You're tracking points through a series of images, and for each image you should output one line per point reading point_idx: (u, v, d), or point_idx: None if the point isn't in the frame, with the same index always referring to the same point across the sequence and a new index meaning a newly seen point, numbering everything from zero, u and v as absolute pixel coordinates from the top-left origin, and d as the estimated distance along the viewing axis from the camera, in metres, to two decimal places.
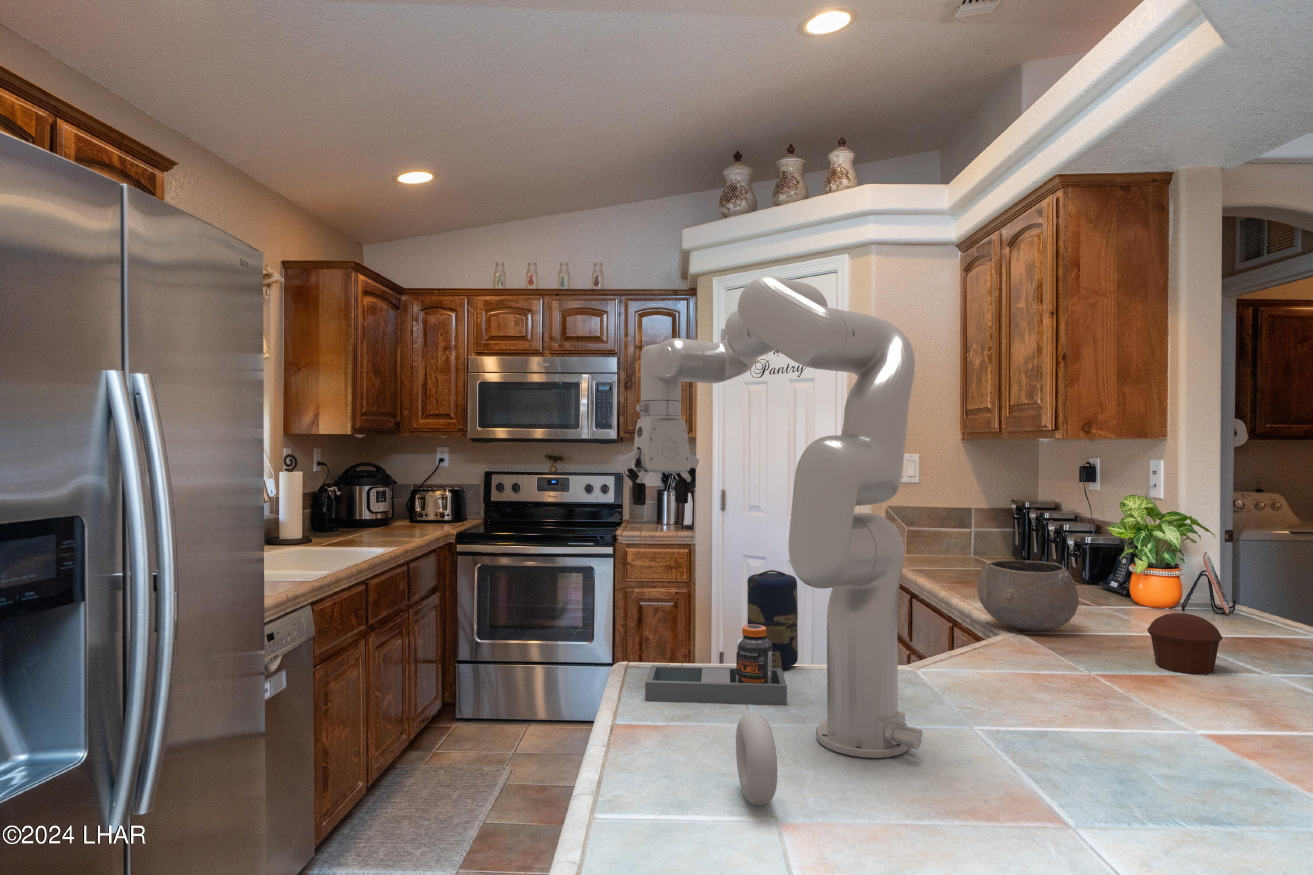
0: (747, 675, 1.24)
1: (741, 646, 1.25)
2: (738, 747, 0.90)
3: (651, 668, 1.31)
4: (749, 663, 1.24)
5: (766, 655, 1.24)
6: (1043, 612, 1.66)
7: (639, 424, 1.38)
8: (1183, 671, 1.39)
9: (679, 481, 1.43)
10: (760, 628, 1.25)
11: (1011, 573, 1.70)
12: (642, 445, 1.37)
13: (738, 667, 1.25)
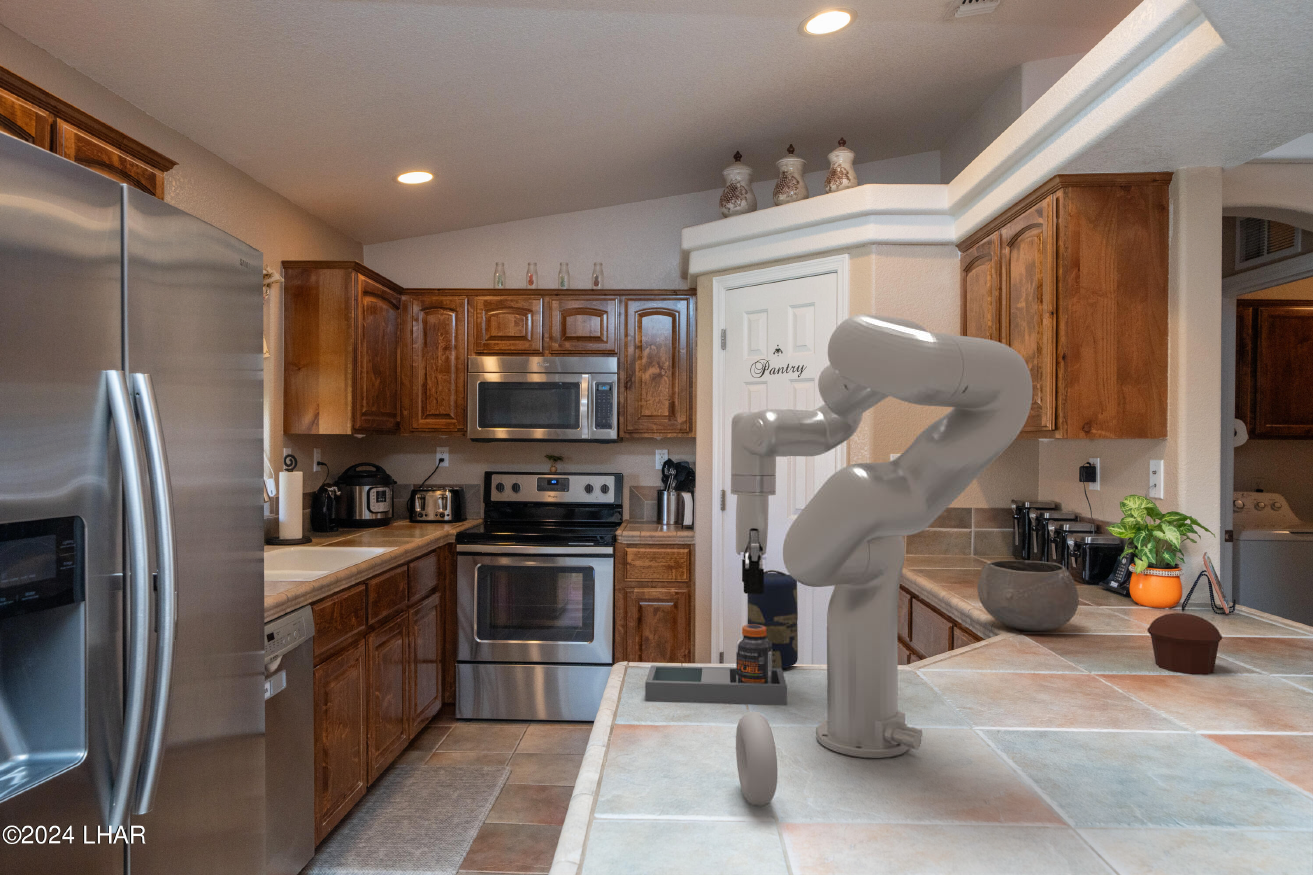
0: (747, 675, 1.24)
1: (741, 646, 1.25)
2: (738, 747, 0.90)
3: (651, 668, 1.31)
4: (749, 663, 1.24)
5: (766, 655, 1.24)
6: (1043, 612, 1.66)
7: None
8: (1183, 671, 1.39)
9: None
10: (760, 628, 1.25)
11: (1011, 573, 1.70)
12: None
13: (738, 667, 1.25)
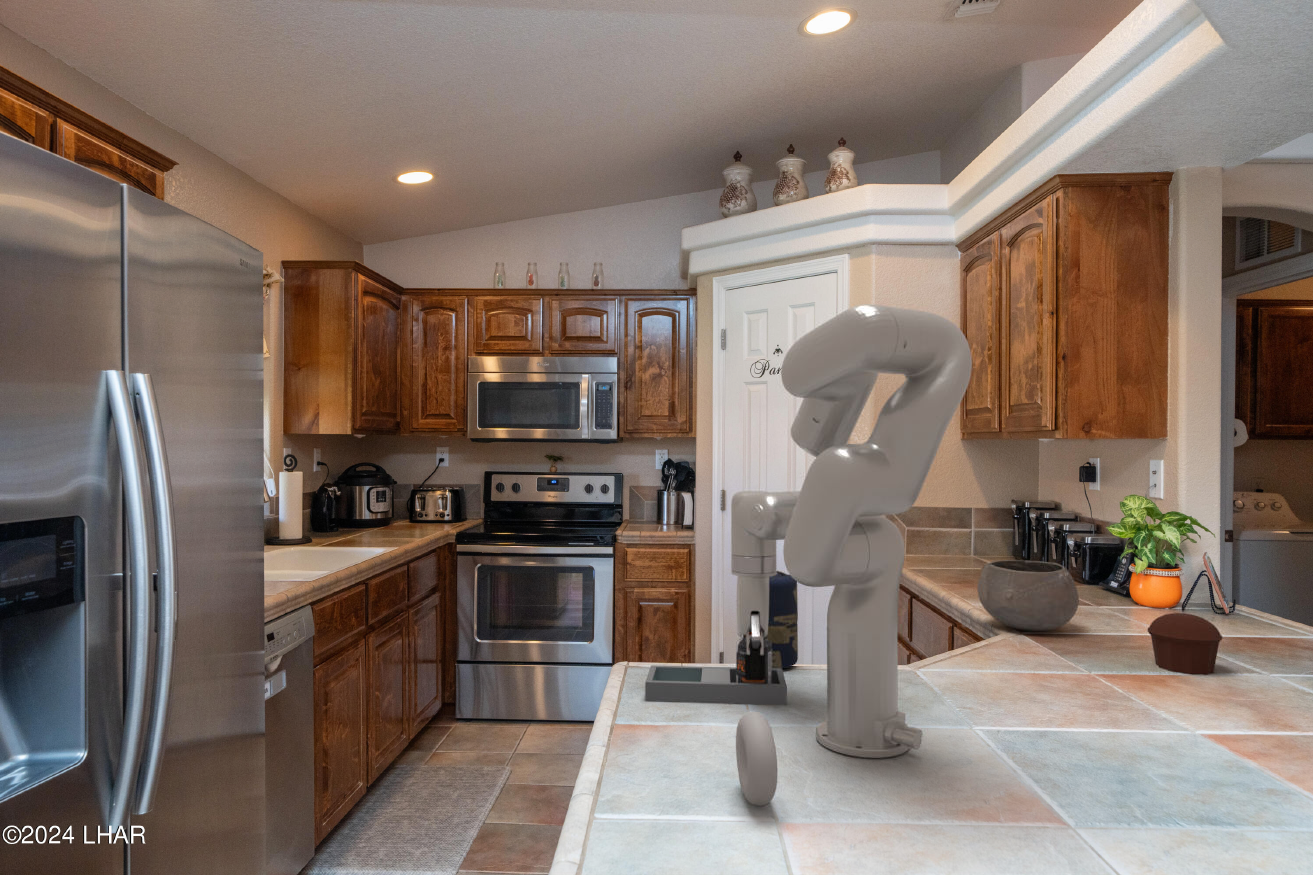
0: None
1: (741, 646, 1.25)
2: (738, 747, 0.90)
3: (651, 668, 1.31)
4: None
5: (766, 655, 1.24)
6: (1043, 612, 1.66)
7: None
8: (1183, 671, 1.39)
9: None
10: None
11: (1011, 573, 1.70)
12: None
13: (738, 667, 1.25)
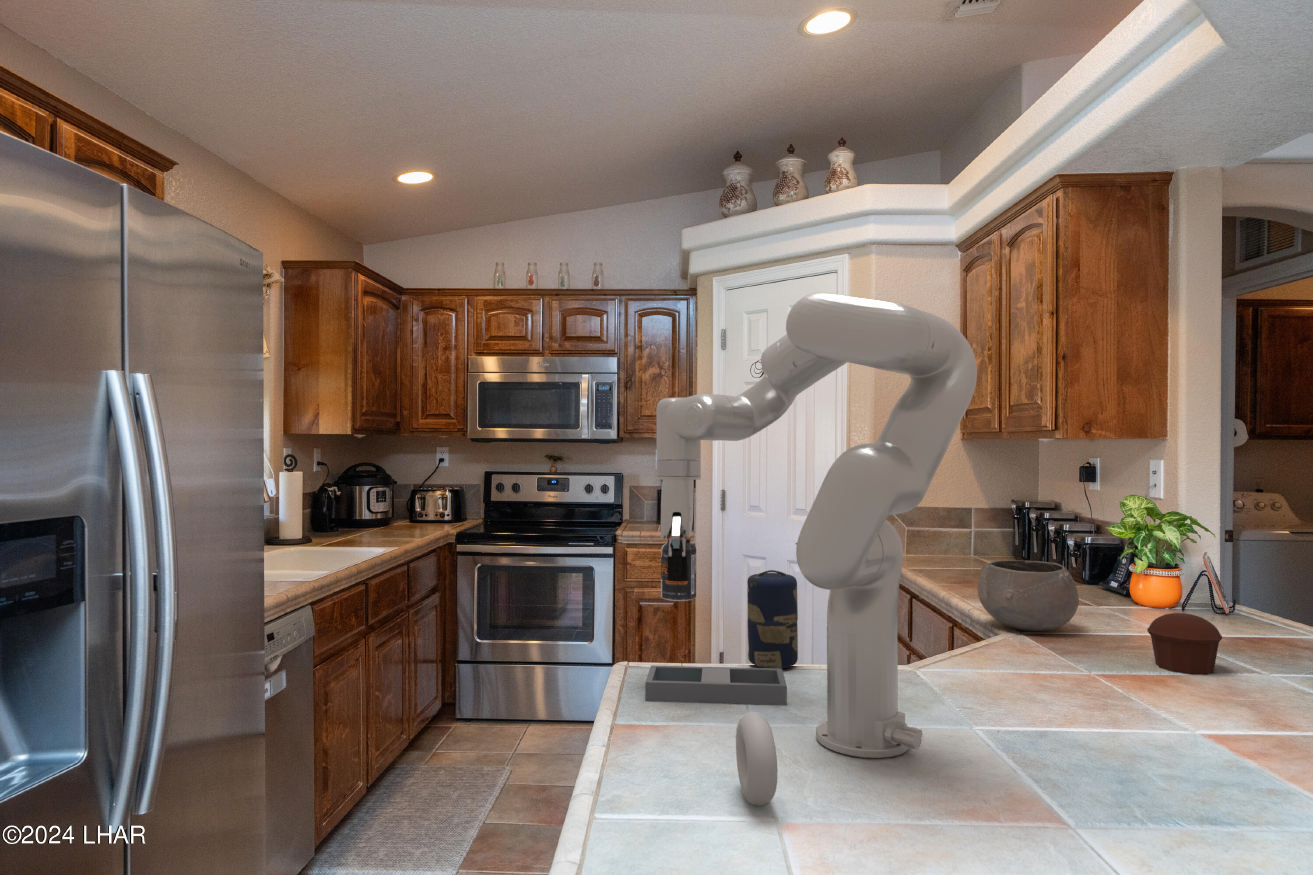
0: None
1: (665, 549, 1.26)
2: (738, 747, 0.90)
3: (651, 668, 1.31)
4: None
5: (689, 557, 1.25)
6: (1043, 612, 1.66)
7: None
8: (1183, 671, 1.39)
9: None
10: None
11: (1011, 573, 1.70)
12: None
13: (662, 571, 1.27)
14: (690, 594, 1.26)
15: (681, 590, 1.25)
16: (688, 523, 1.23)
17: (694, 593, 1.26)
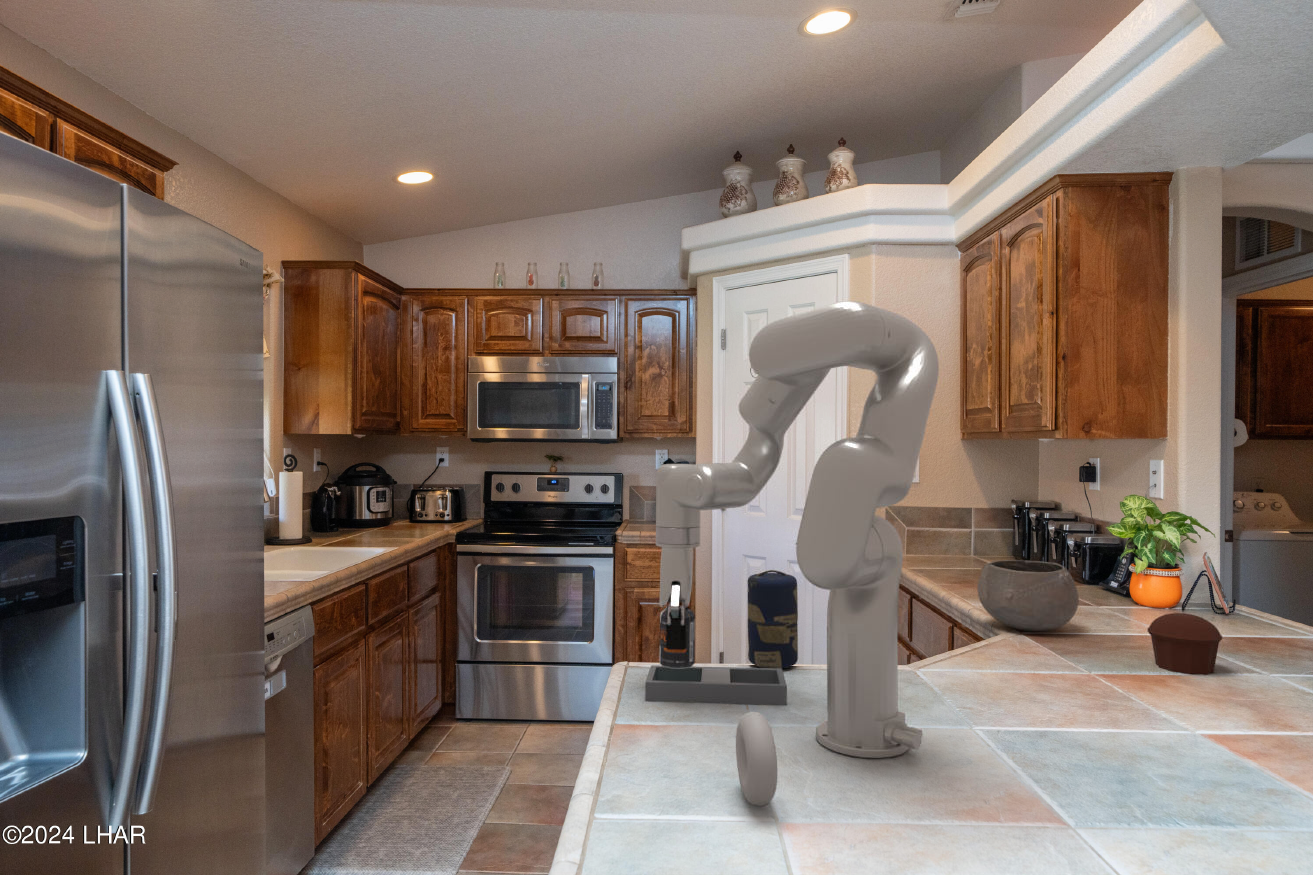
0: None
1: (663, 616, 1.26)
2: (738, 747, 0.90)
3: (651, 668, 1.31)
4: None
5: (688, 625, 1.25)
6: (1043, 612, 1.66)
7: None
8: (1183, 671, 1.39)
9: None
10: None
11: (1011, 573, 1.70)
12: None
13: (661, 637, 1.27)
14: (689, 662, 1.25)
15: (679, 658, 1.25)
16: (687, 592, 1.23)
17: (692, 660, 1.26)
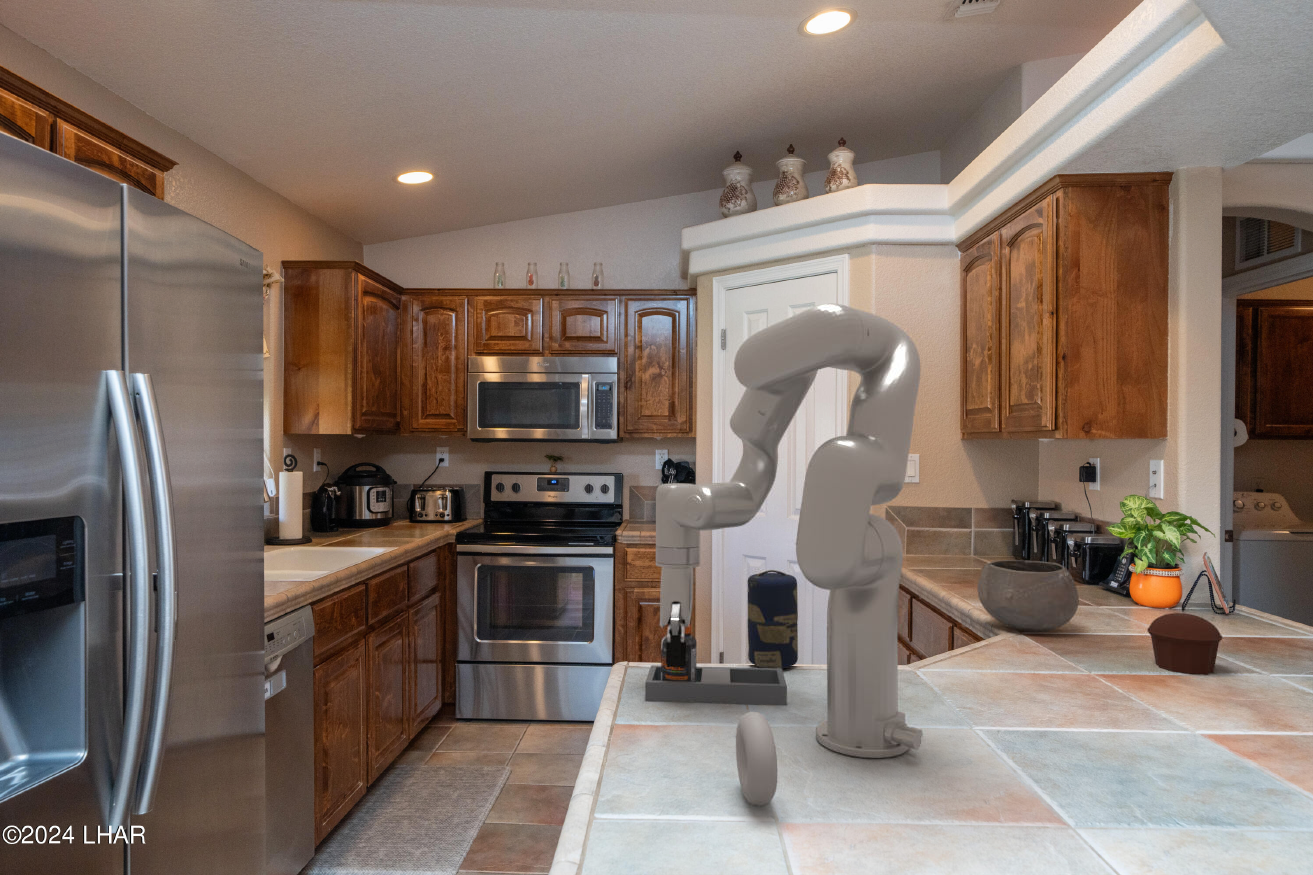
0: (671, 672, 1.25)
1: (665, 643, 1.25)
2: (738, 747, 0.90)
3: (651, 668, 1.31)
4: None
5: (689, 652, 1.25)
6: (1043, 612, 1.66)
7: None
8: (1183, 671, 1.39)
9: None
10: None
11: (1011, 573, 1.70)
12: None
13: (662, 664, 1.26)
14: None
15: None
16: (687, 612, 1.23)
17: None
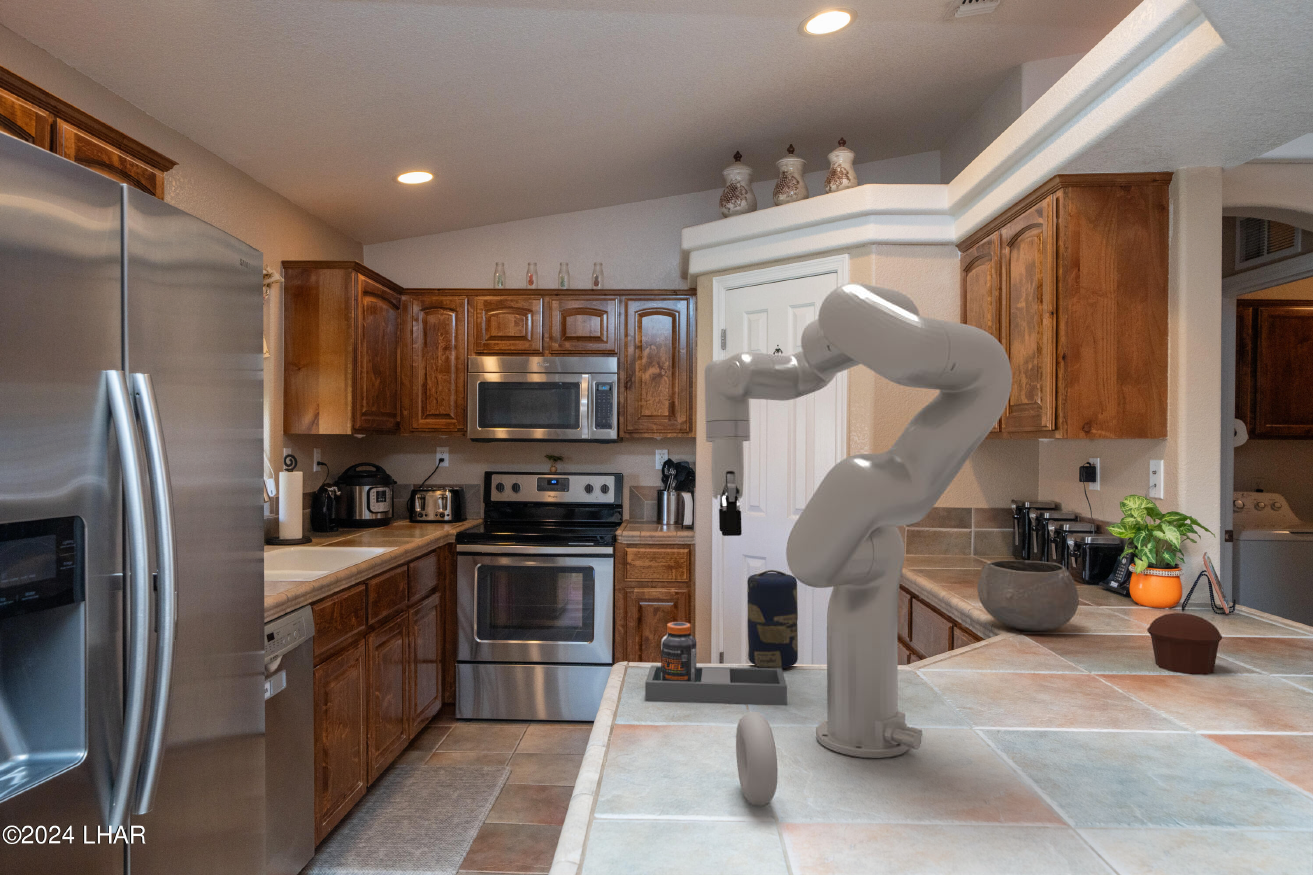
0: (670, 672, 1.25)
1: (665, 643, 1.25)
2: (738, 747, 0.90)
3: (651, 668, 1.31)
4: (672, 661, 1.24)
5: (689, 652, 1.25)
6: (1043, 612, 1.66)
7: None
8: (1183, 671, 1.39)
9: None
10: (684, 626, 1.26)
11: (1011, 573, 1.70)
12: None
13: (662, 664, 1.26)
14: None
15: None
16: (741, 482, 1.24)
17: None
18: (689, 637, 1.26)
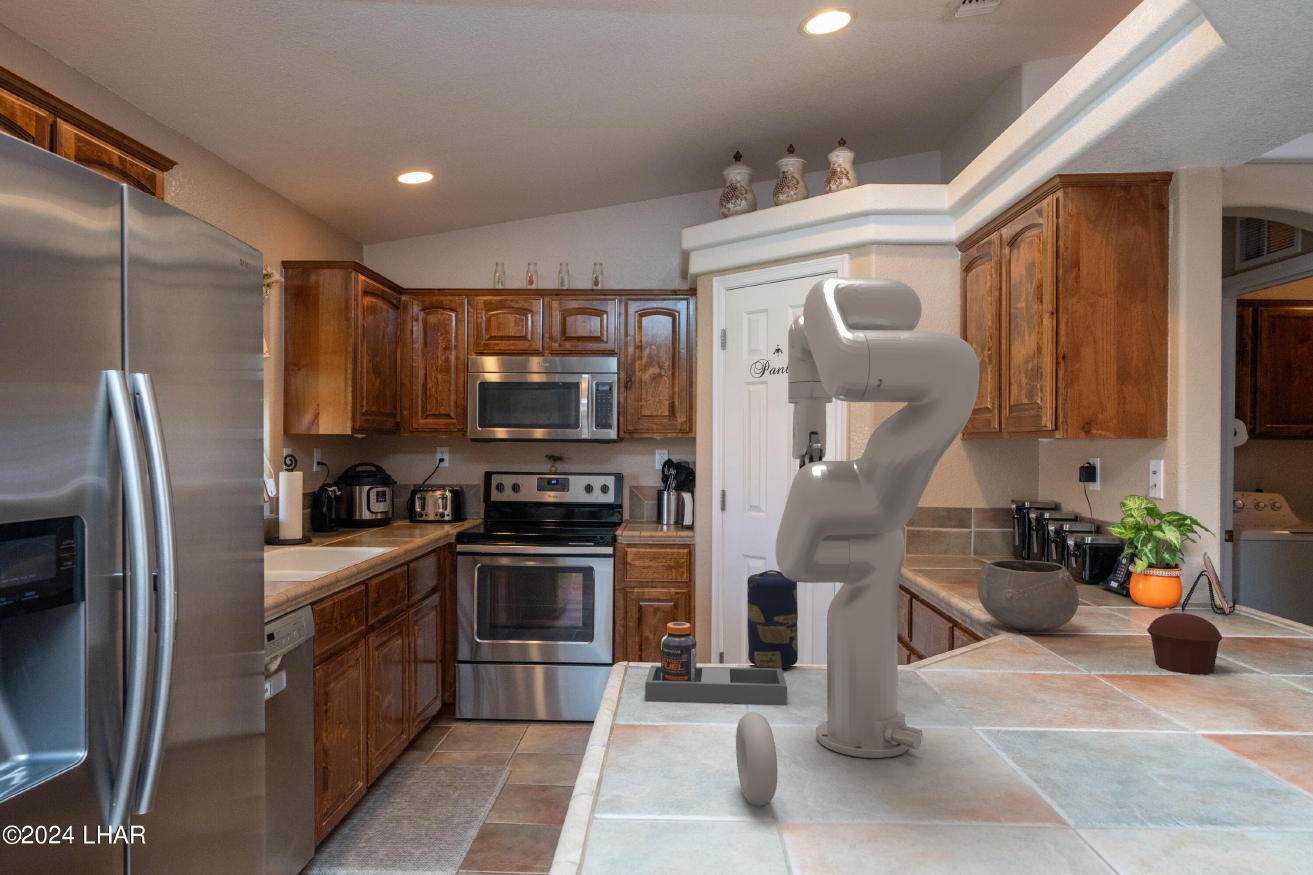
0: (670, 672, 1.25)
1: (665, 643, 1.25)
2: (738, 747, 0.90)
3: (651, 668, 1.31)
4: (672, 661, 1.24)
5: (689, 652, 1.25)
6: (1043, 612, 1.66)
7: None
8: (1183, 671, 1.39)
9: None
10: (684, 626, 1.26)
11: (1011, 573, 1.70)
12: None
13: (662, 665, 1.26)
14: None
15: None
16: (825, 442, 1.26)
17: None
18: (689, 637, 1.26)
